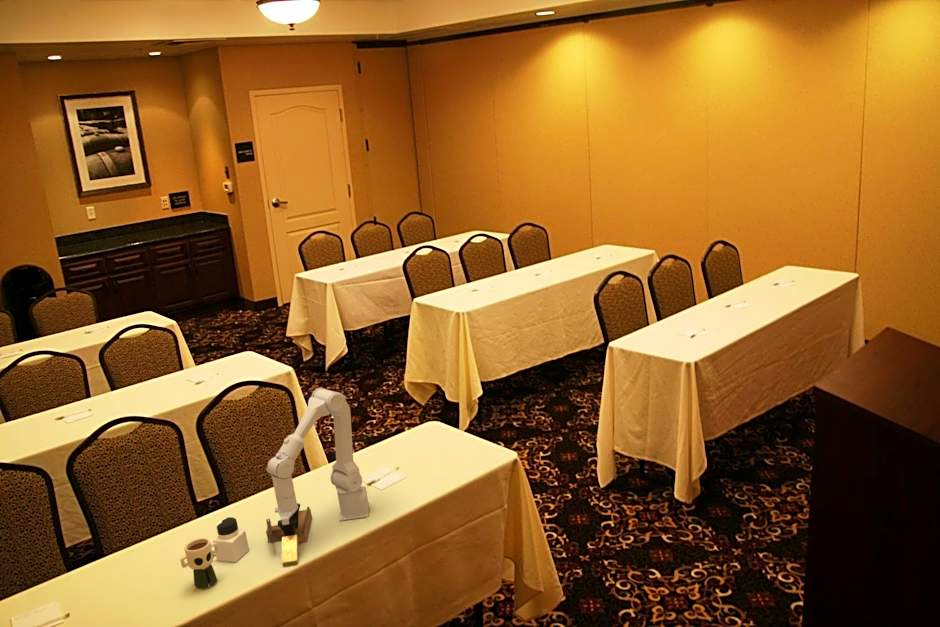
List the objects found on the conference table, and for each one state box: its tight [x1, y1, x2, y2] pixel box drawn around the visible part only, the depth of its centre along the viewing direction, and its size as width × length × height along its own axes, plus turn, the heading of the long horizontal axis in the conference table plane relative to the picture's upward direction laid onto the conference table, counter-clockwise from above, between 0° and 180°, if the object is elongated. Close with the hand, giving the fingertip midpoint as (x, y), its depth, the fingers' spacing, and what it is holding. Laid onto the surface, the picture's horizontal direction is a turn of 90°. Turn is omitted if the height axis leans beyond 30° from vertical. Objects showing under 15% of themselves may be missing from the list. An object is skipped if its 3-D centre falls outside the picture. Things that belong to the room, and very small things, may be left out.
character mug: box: [179, 537, 218, 590], centre depth 224 cm, size 11×7×13 cm, turn 131°
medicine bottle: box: [212, 516, 250, 563], centre depth 238 cm, size 7×7×12 cm
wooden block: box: [281, 535, 299, 566], centre depth 233 cm, size 4×8×2 cm
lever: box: [265, 518, 274, 544], centre depth 240 cm, size 11×1×3 cm, turn 18°
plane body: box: [265, 506, 313, 545], centre depth 249 cm, size 12×16×4 cm
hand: (293, 534), depth 240 cm, fingers open, 7 cm apart
